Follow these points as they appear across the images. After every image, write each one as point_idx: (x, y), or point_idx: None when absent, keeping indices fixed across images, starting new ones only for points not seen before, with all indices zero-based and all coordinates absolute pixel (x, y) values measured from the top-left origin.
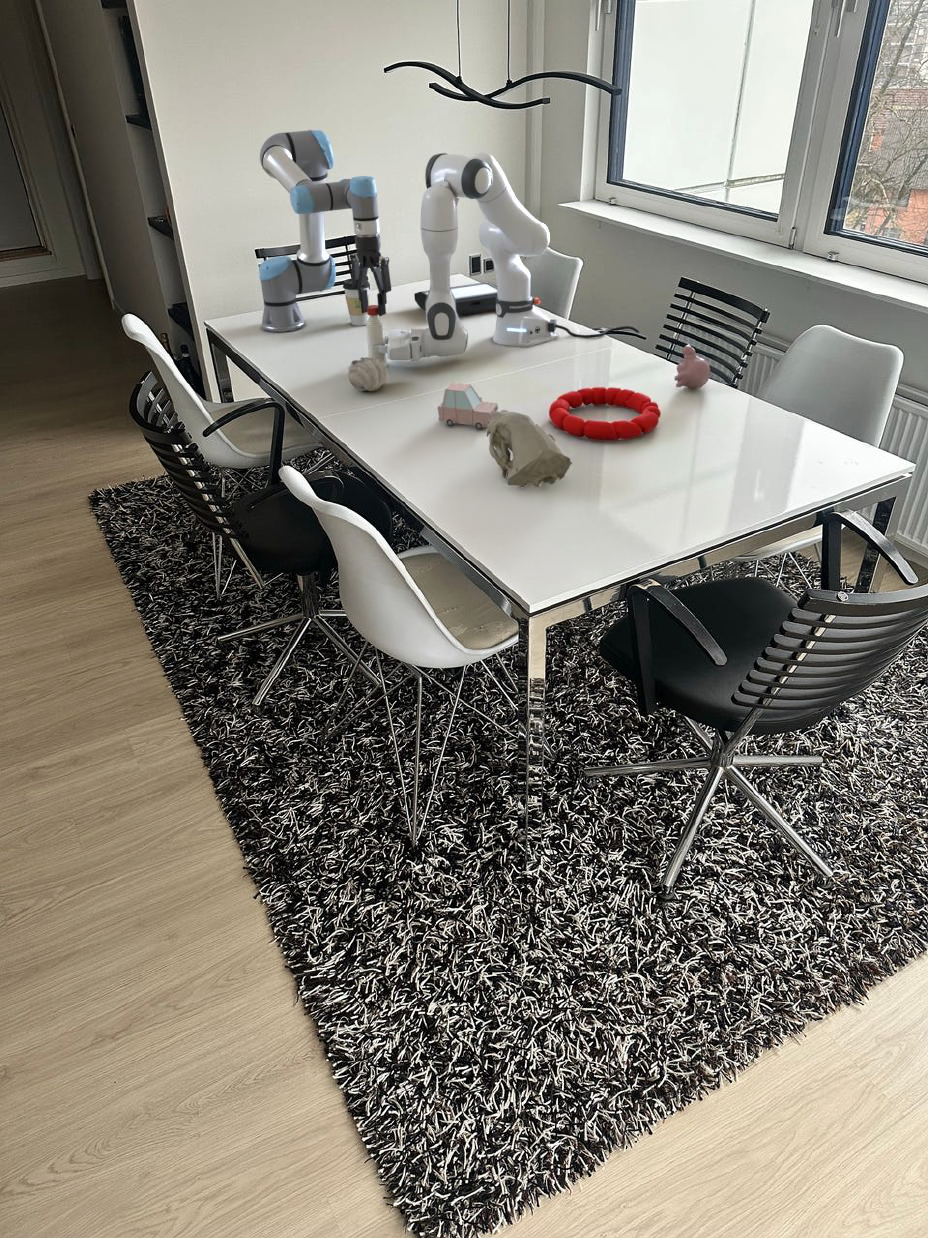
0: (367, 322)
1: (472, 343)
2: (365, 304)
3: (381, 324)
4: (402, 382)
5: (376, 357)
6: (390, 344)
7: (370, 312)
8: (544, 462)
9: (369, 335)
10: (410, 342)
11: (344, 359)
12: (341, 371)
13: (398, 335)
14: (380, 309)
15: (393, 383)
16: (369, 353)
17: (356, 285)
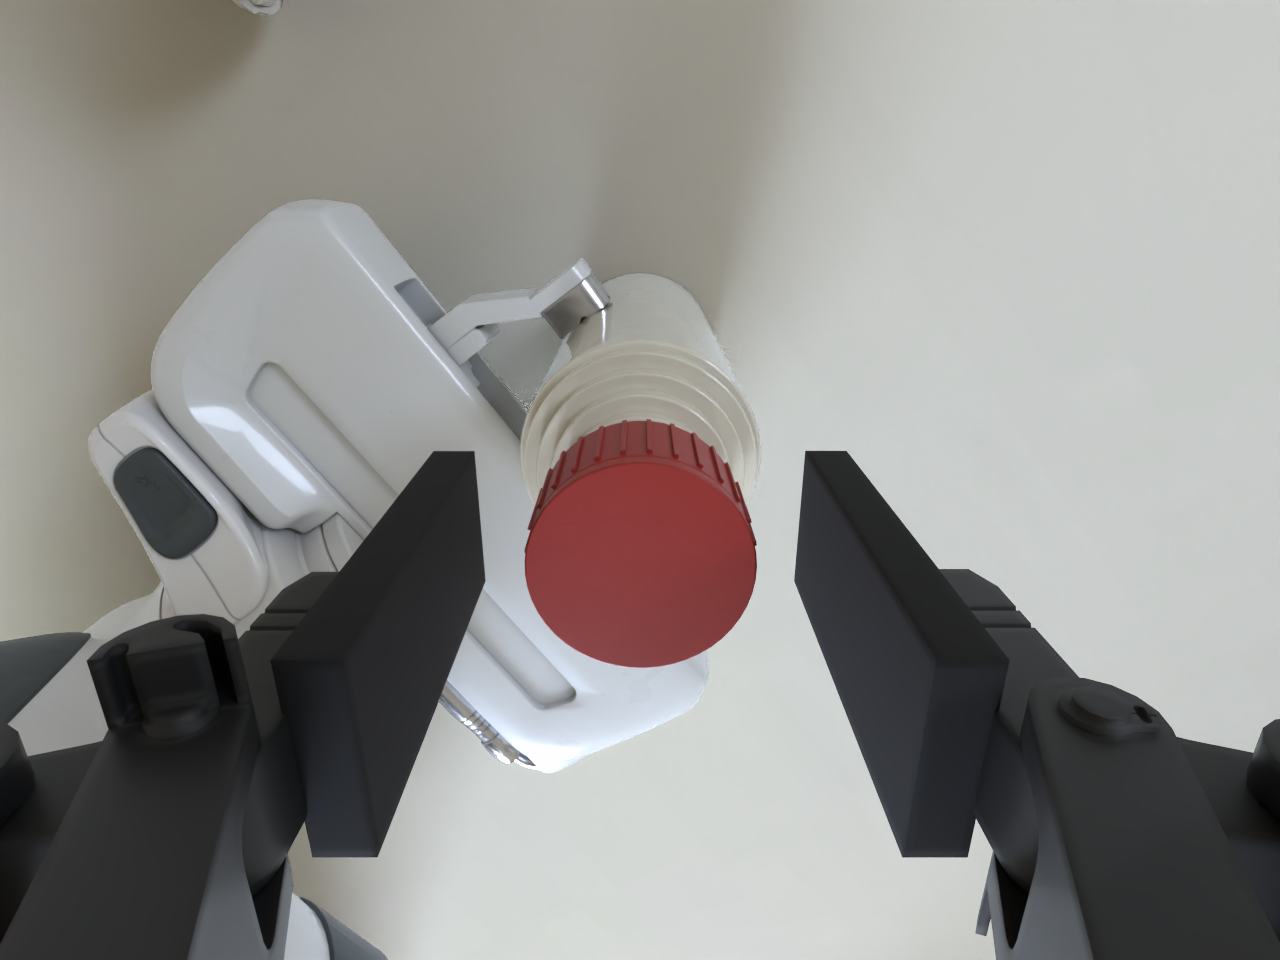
0: (703, 389)
1: (388, 945)
2: (827, 573)
3: (525, 466)
4: (188, 107)
5: None
6: (376, 331)
7: (623, 433)
8: None
9: (648, 316)
10: (182, 436)
11: (992, 337)
12: (845, 63)
13: (519, 602)
14: (403, 500)
15: (230, 41)
16: (672, 294)
17: (1259, 818)
